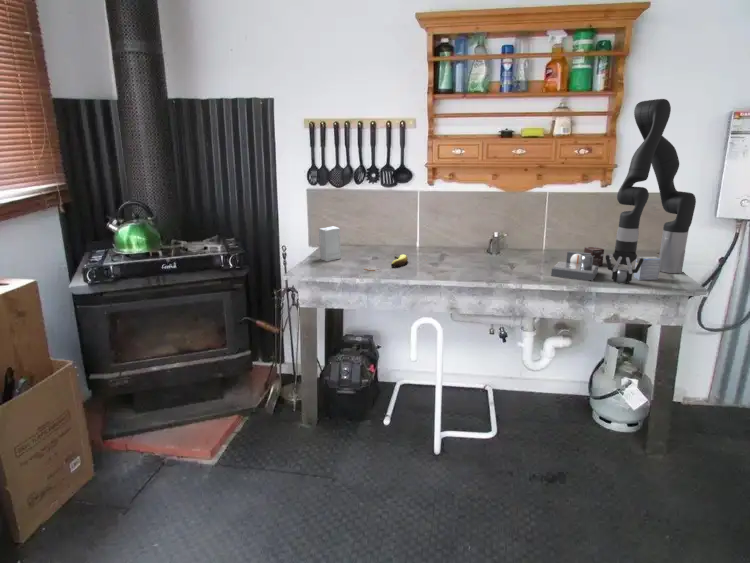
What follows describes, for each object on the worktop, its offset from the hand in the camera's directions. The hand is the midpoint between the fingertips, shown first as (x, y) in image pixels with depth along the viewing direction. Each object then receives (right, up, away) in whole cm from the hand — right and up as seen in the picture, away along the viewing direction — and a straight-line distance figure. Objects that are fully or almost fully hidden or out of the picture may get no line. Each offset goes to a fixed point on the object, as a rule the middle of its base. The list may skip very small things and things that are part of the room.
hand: (621, 281), depth 207 cm
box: (0, +7, +27) cm, 28 cm away
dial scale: (-14, +3, +11) cm, 18 cm away
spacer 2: (0, 0, 0) cm, 0 cm away
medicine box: (+12, +1, +5) cm, 13 cm away
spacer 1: (-11, +5, +6) cm, 14 cm away
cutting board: (-87, +7, +31) cm, 92 cm away
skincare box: (-118, +10, +38) cm, 124 cm away
